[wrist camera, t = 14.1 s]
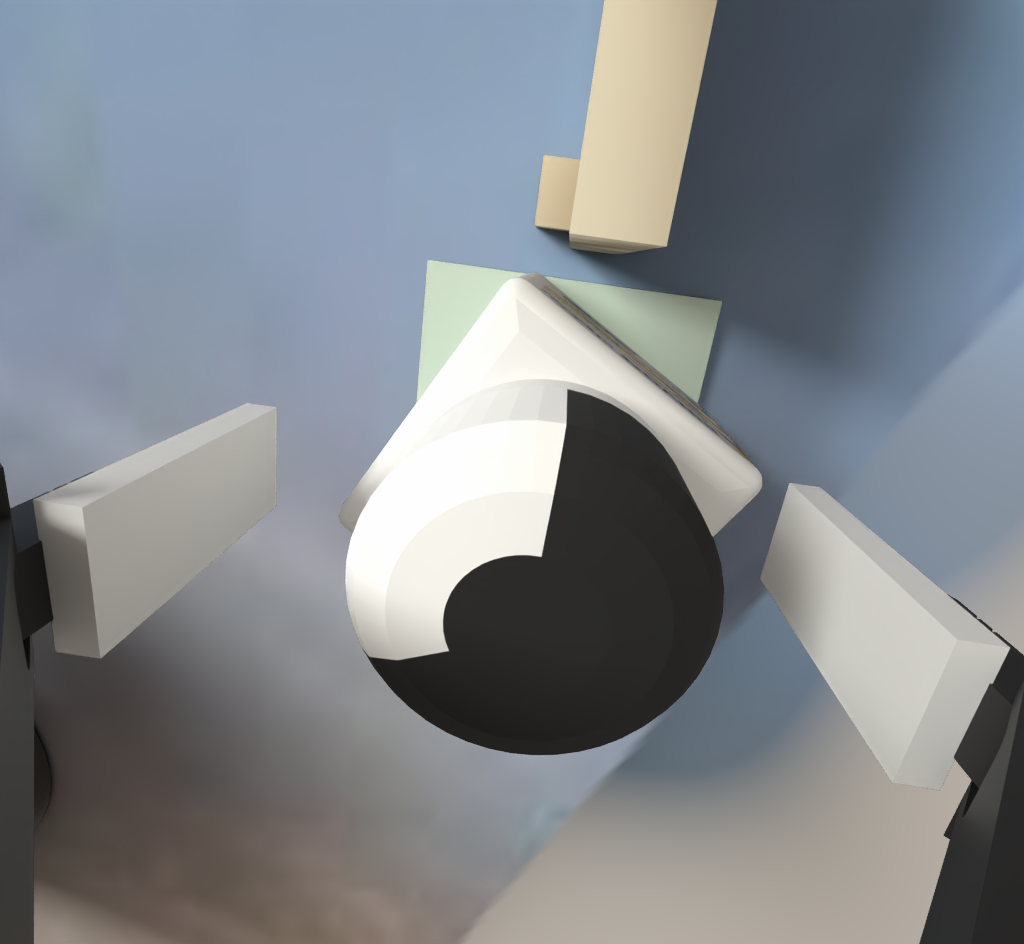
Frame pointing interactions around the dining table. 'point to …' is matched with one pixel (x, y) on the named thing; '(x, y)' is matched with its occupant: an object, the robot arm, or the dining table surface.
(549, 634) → the container
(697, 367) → the mat
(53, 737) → the dining table surface
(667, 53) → the screen
